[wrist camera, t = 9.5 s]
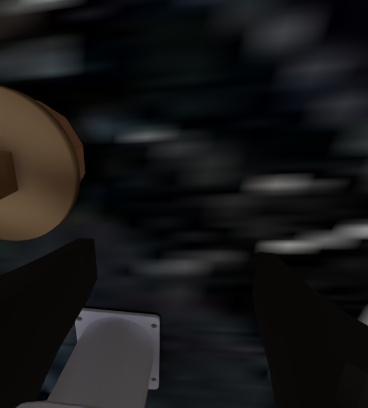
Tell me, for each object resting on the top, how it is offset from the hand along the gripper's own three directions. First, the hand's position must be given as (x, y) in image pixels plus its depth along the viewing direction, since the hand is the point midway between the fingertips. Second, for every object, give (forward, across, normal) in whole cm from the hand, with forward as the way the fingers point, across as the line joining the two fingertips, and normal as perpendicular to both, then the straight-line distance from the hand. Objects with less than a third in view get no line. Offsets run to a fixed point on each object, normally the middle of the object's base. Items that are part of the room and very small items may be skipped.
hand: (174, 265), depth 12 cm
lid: (+7, +12, -2) cm, 14 cm away
